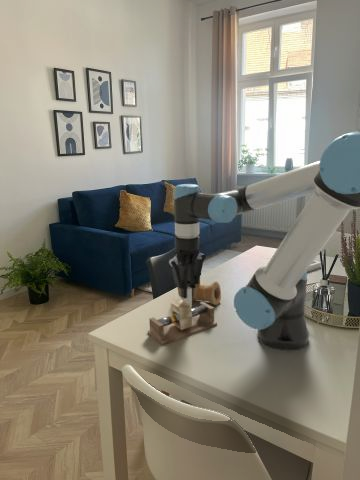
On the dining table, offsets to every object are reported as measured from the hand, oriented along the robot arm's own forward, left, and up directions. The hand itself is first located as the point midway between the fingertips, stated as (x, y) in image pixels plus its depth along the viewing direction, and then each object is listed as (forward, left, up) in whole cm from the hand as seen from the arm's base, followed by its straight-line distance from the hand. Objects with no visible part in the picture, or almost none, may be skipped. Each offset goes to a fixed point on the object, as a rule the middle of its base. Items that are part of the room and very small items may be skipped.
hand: (187, 306), depth 117 cm
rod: (0, +2, -4) cm, 5 cm away
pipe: (+13, -14, -8) cm, 21 cm away
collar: (0, +3, -5) cm, 6 cm away
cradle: (0, +2, -7) cm, 8 cm away
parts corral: (+18, -76, -7) cm, 78 cm away
